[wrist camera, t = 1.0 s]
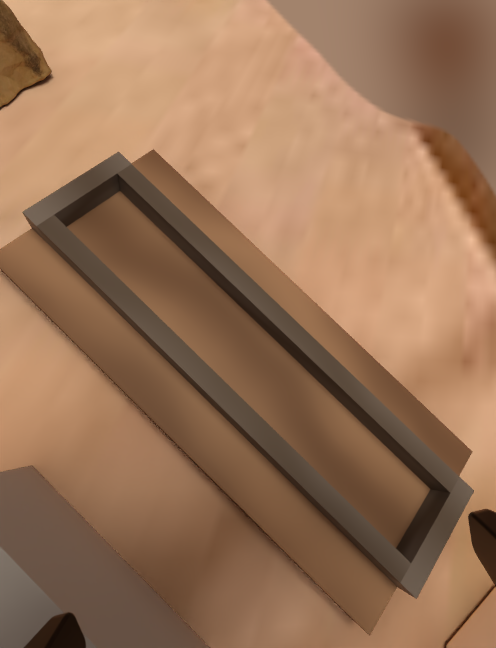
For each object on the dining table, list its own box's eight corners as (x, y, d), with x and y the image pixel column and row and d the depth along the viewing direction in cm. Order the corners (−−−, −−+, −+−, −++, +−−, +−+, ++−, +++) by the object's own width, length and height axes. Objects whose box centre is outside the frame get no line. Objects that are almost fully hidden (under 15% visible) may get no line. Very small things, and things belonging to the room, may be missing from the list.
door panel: (172, 704, 16) (182, 925, 9) (-15, 509, 17) (-154, 564, 9) (211, 648, 17) (250, 807, 10) (32, 465, 18) (-60, 484, 10)
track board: (354, 621, 19) (388, 652, 16) (0, 269, 20) (-26, 241, 17) (453, 451, 23) (494, 452, 20) (153, 166, 24) (152, 130, 21)
